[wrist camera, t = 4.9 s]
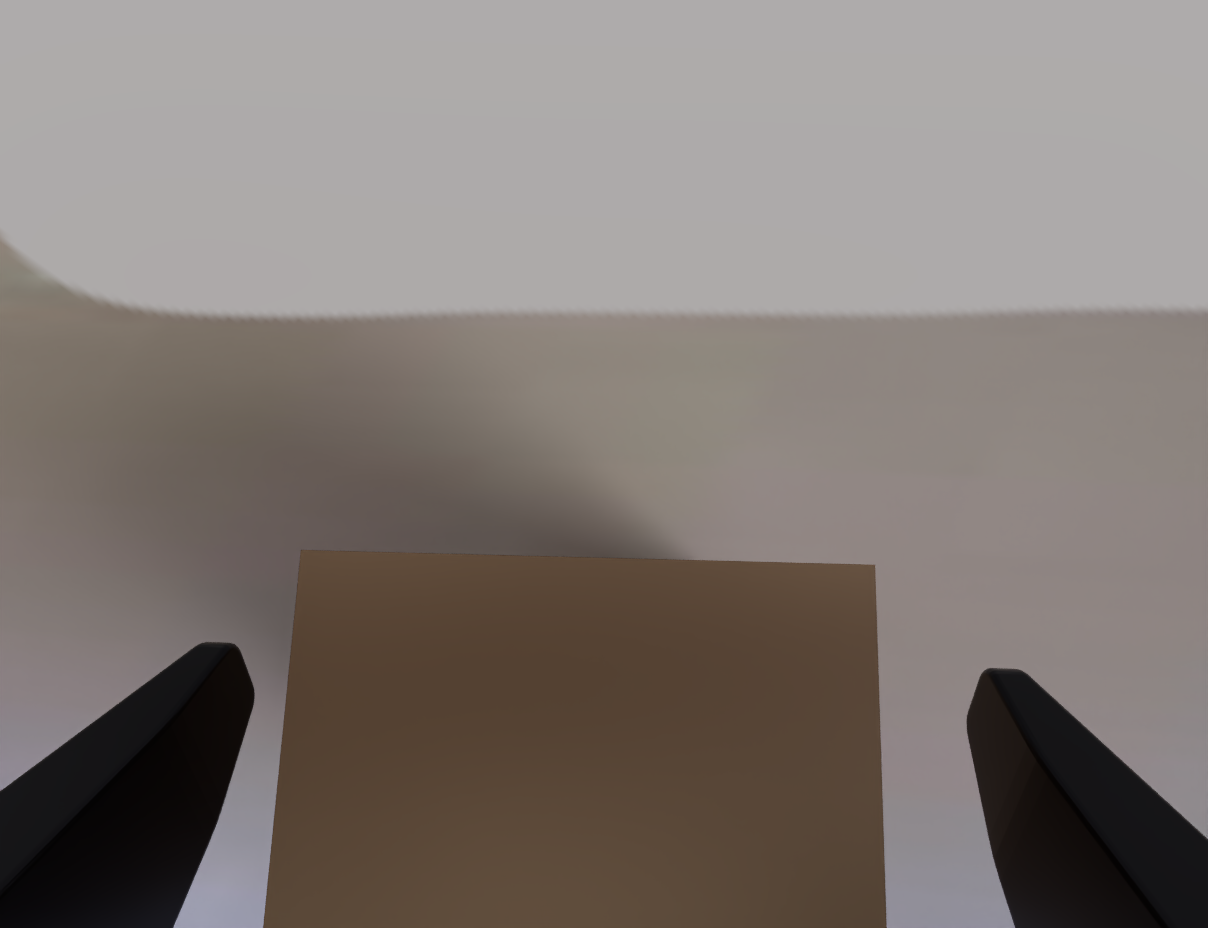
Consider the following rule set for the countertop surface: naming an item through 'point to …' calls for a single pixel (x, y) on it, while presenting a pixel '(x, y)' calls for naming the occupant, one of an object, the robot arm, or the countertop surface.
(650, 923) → the walnut block
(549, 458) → the countertop surface
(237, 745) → the robot arm
